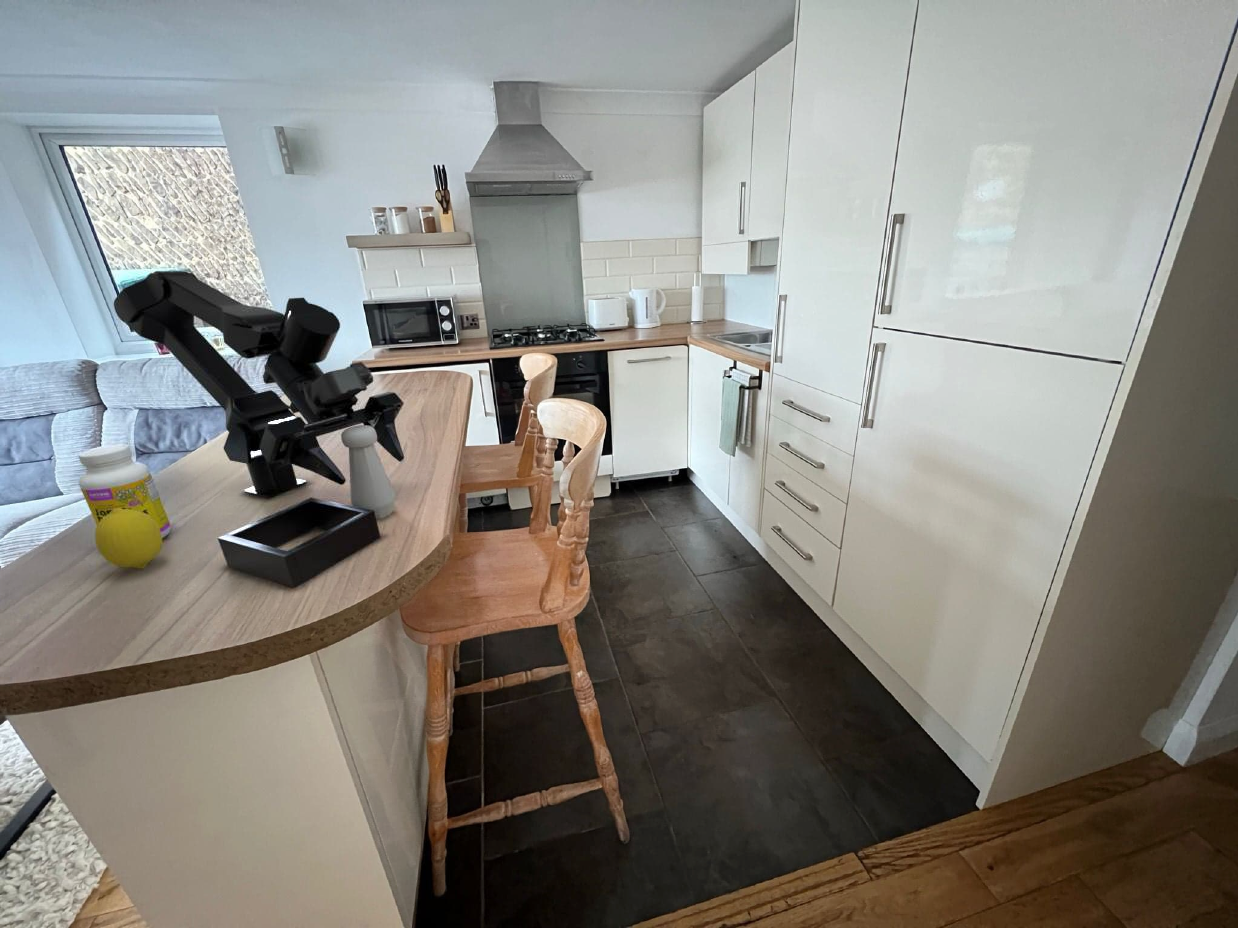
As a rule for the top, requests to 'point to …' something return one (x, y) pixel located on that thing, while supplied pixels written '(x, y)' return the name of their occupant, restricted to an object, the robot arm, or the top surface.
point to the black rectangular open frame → (297, 565)
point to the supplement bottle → (120, 485)
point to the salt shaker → (367, 472)
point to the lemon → (128, 538)
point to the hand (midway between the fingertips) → (374, 470)
